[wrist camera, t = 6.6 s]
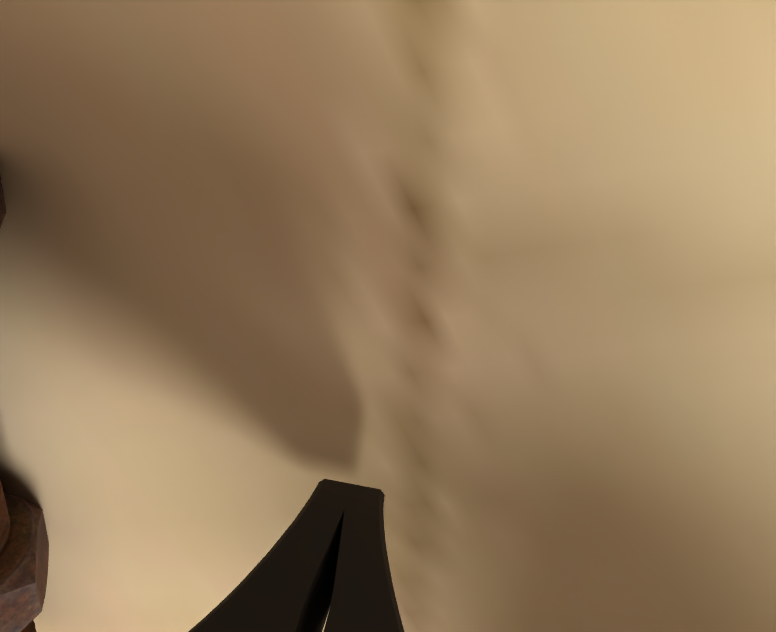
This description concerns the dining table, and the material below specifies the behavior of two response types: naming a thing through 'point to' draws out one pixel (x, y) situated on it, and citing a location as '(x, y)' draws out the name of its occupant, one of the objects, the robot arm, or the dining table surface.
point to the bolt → (21, 553)
